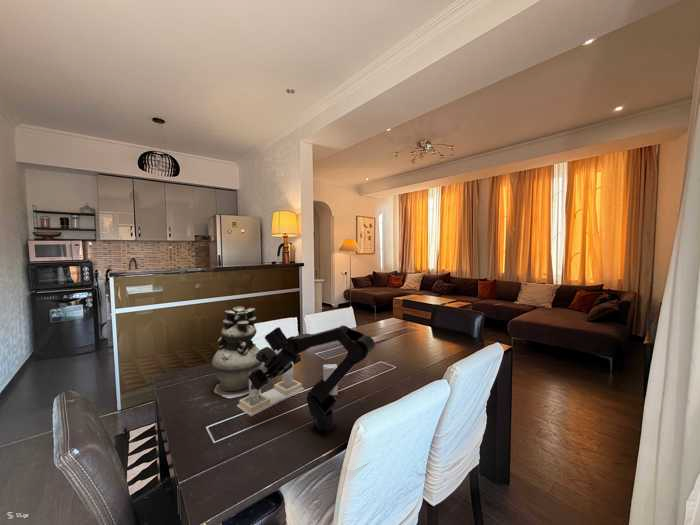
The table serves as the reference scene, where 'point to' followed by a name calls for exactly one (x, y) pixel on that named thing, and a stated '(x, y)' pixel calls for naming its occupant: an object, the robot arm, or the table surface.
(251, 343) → the decorative urn
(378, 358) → the table surface
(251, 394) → the clear drinking glass
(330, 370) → the skincare box
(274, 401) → the white oblong stand
